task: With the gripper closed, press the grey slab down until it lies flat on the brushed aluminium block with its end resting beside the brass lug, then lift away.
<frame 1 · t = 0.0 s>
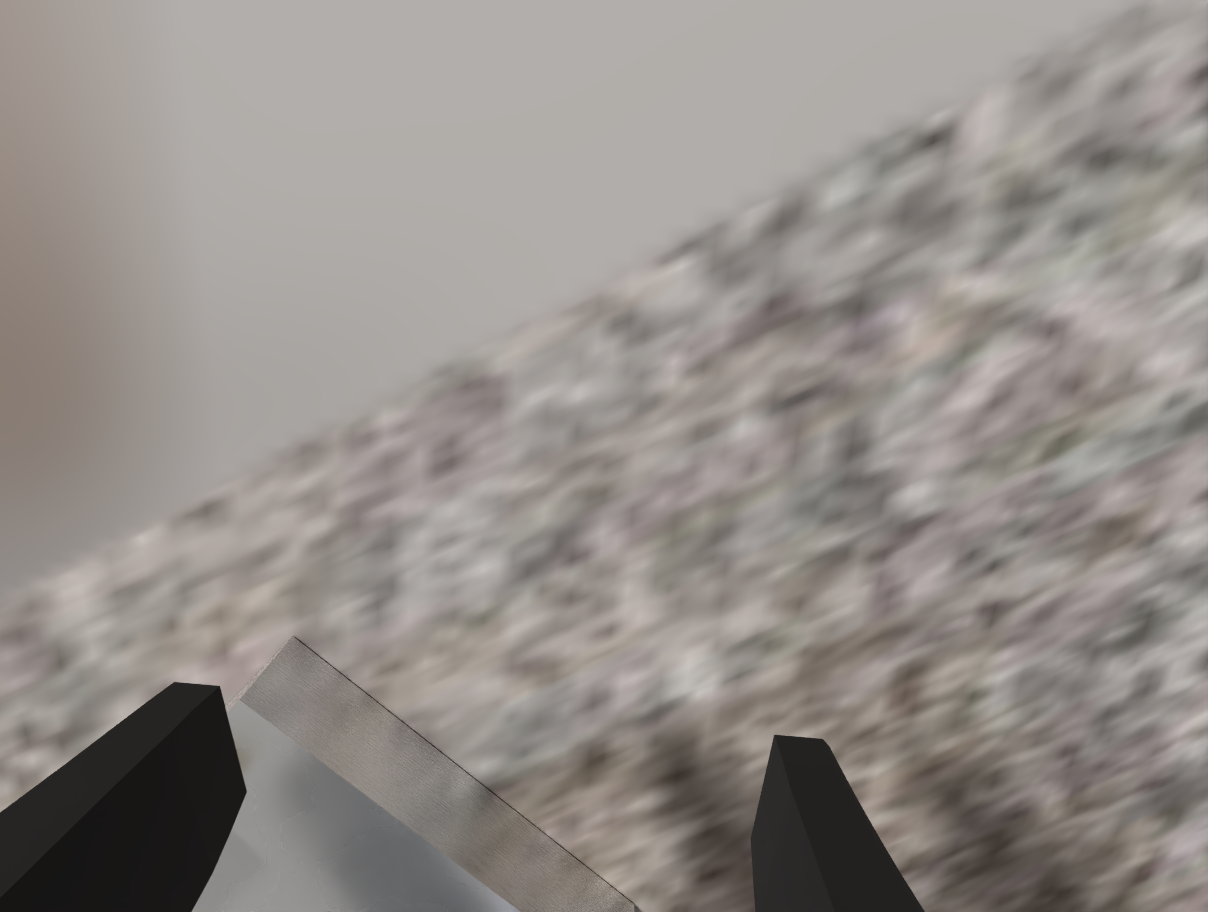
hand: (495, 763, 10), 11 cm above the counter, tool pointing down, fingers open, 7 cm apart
base block: (374, 863, 24), on the counter
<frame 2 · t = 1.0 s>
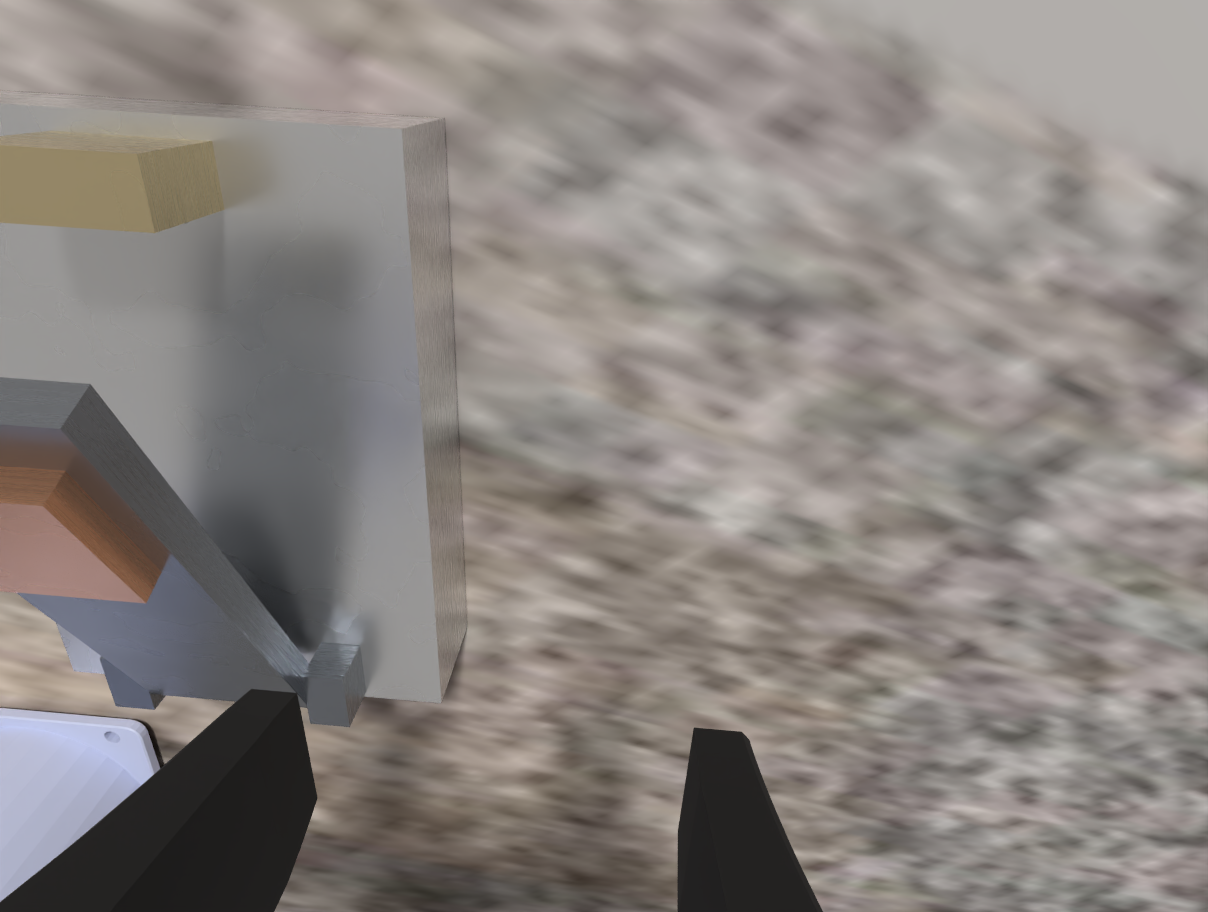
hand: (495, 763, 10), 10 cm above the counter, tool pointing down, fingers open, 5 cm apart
grey slab: (123, 598, 14), point 6 cm above the counter, hinge at 25.0°, touching base block
base block: (266, 402, 19), on the counter
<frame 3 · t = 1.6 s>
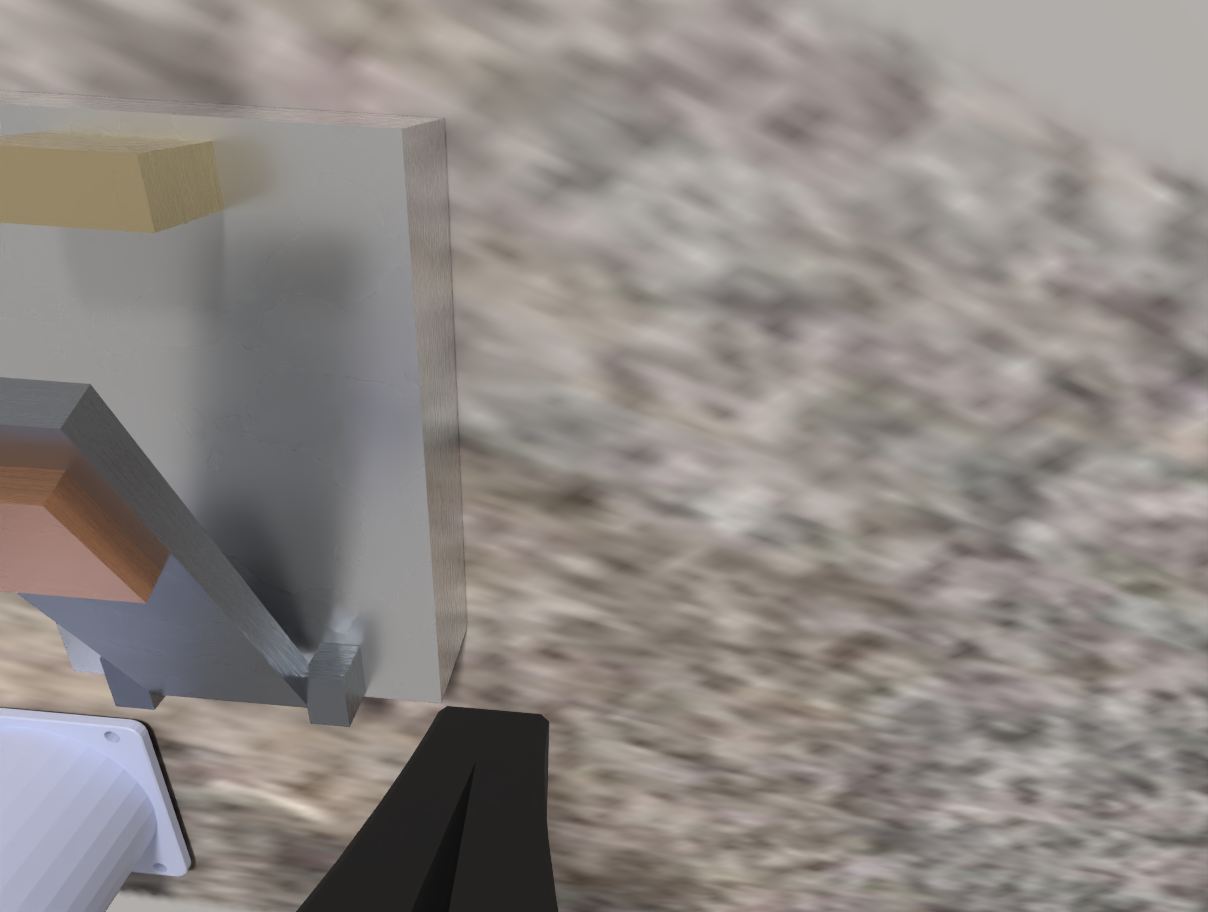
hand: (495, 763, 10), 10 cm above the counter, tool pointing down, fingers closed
grey slab: (123, 598, 14), point 6 cm above the counter, hinge at 25.0°, touching base block
base block: (266, 402, 19), on the counter
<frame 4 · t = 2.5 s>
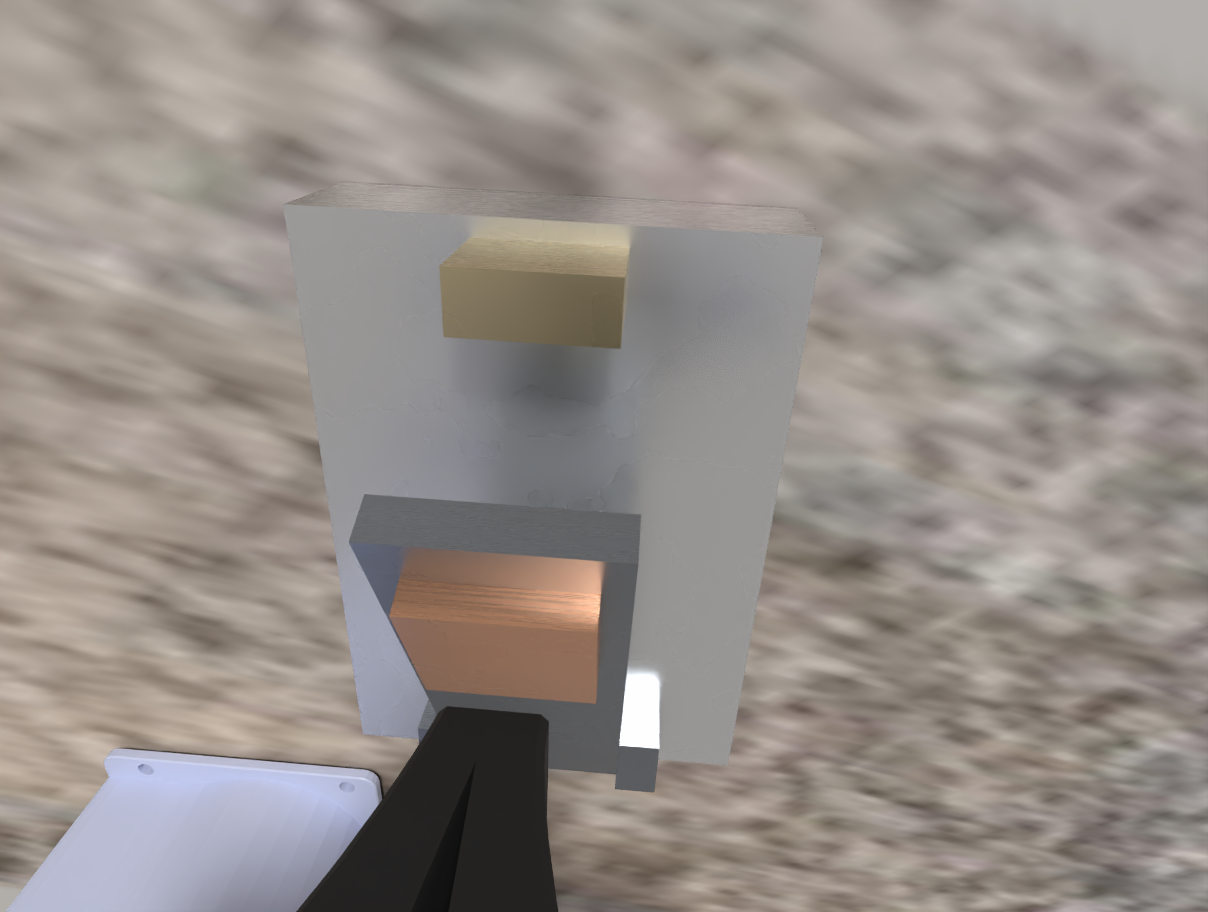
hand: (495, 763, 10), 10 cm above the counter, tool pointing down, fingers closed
grey slab: (522, 687, 15), point 6 cm above the counter, hinge at 25.0°, touching base block
base block: (561, 472, 20), on the counter
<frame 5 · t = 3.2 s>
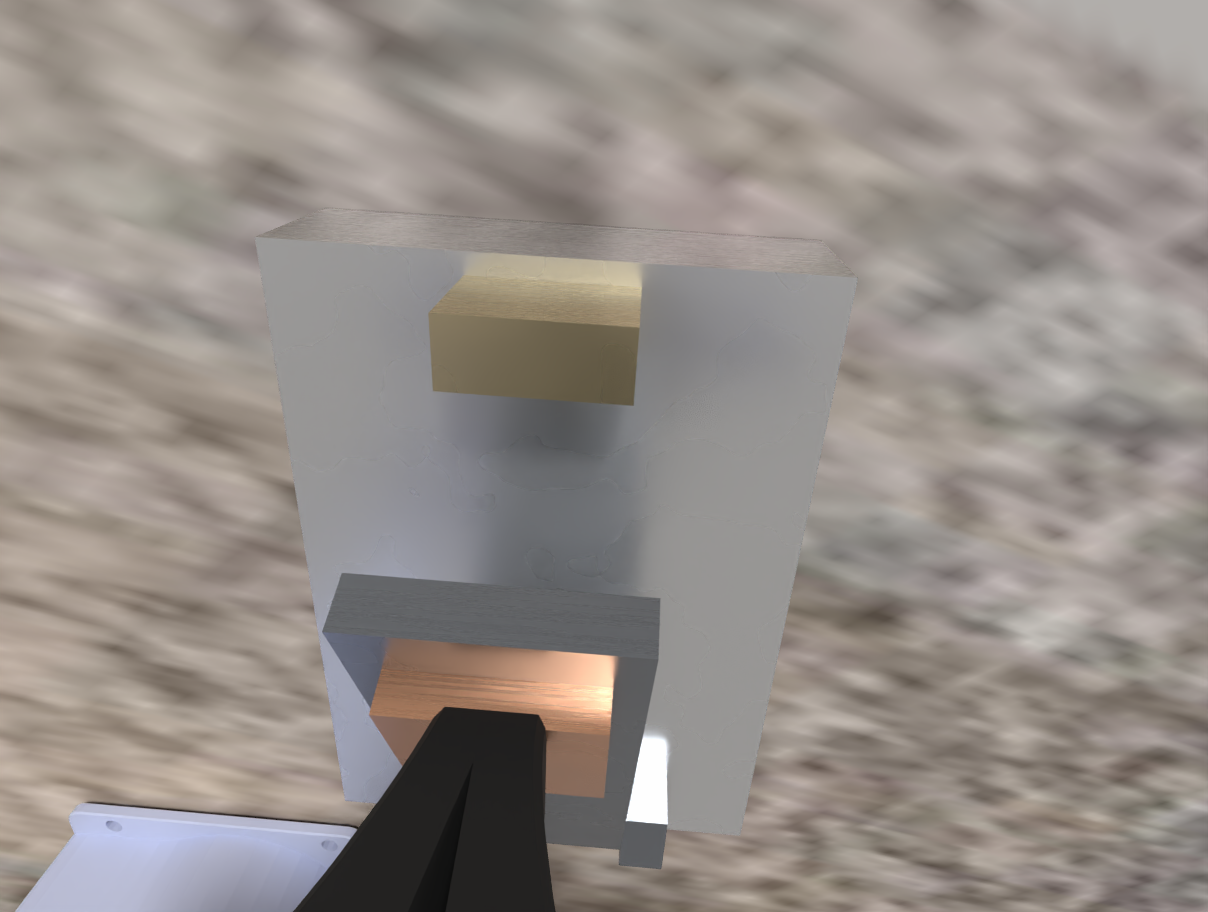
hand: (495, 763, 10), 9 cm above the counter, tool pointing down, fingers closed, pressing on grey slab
grey slab: (520, 770, 13), point 6 cm above the counter, hinge at 24.3°, touching base block, gripper
base block: (561, 519, 18), on the counter
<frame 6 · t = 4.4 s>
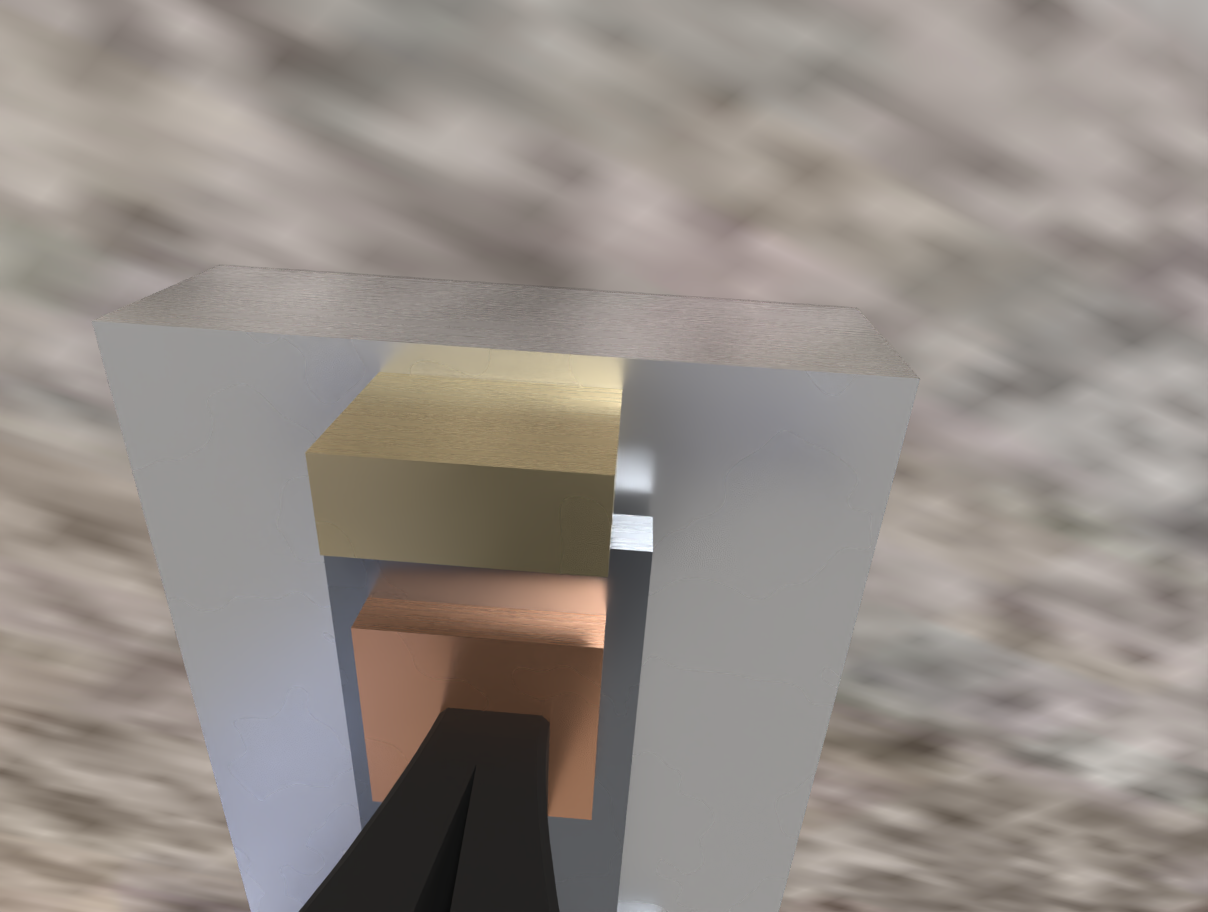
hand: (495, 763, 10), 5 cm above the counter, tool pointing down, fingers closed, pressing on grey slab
grey slab: (492, 837, 11), point 4 cm above the counter, hinge at -0.5°, touching base block, gripper
base block: (530, 635, 15), on the counter
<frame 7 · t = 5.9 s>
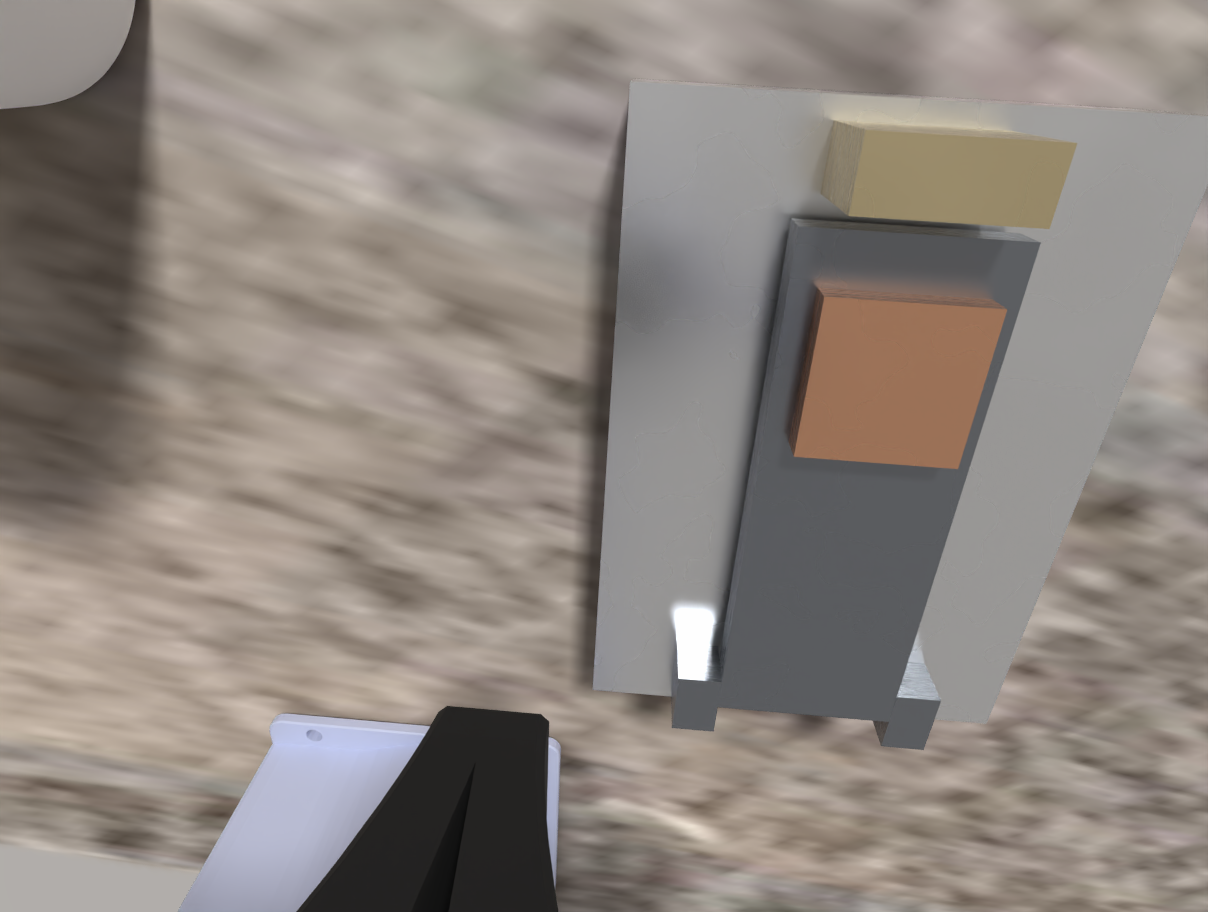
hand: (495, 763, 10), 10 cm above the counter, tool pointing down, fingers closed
grey slab: (850, 512, 15), point 4 cm above the counter, hinge at -0.6°, touching base block
base block: (816, 408, 18), on the counter
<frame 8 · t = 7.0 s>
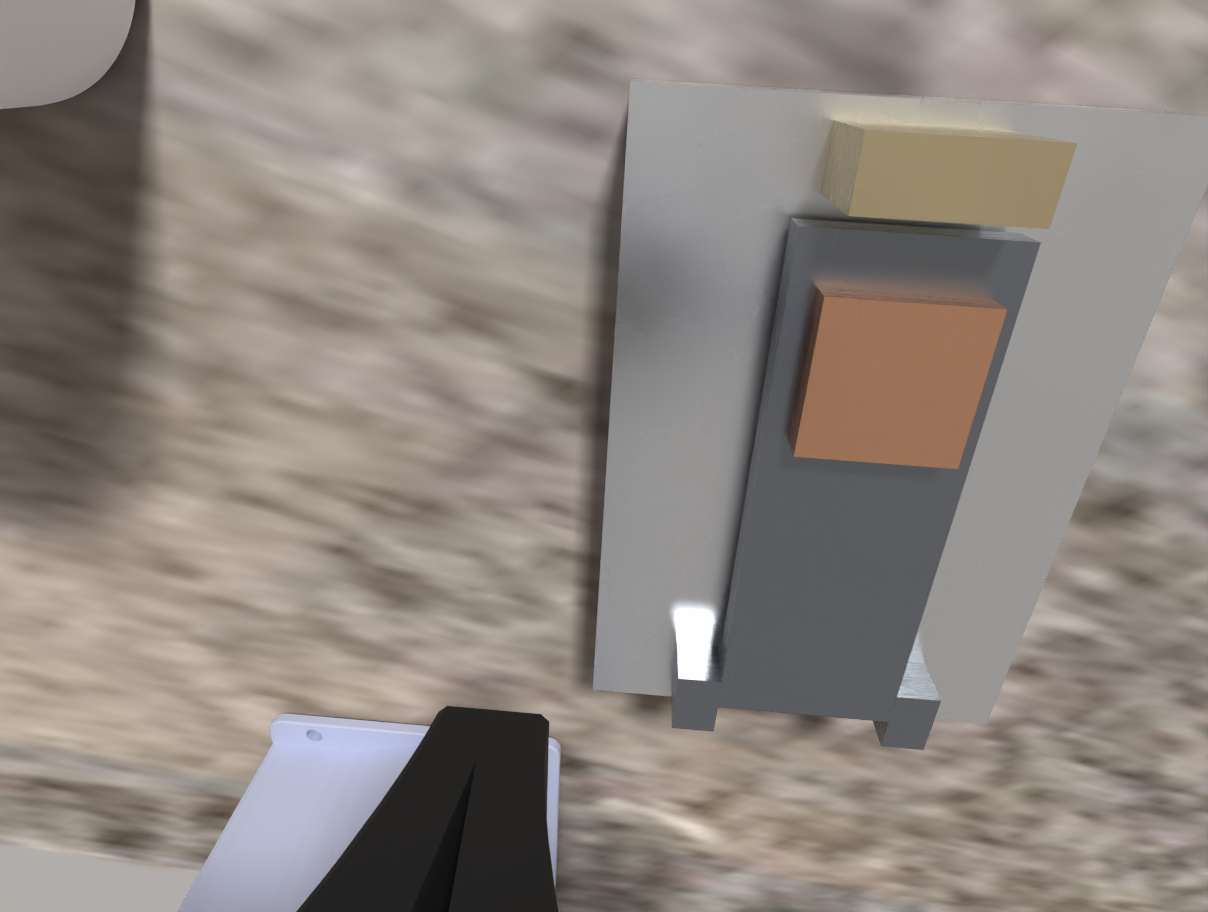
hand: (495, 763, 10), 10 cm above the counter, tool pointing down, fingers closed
grey slab: (850, 512, 15), point 4 cm above the counter, hinge at -0.6°, touching base block
base block: (816, 408, 18), on the counter
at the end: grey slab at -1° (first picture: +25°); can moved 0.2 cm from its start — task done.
